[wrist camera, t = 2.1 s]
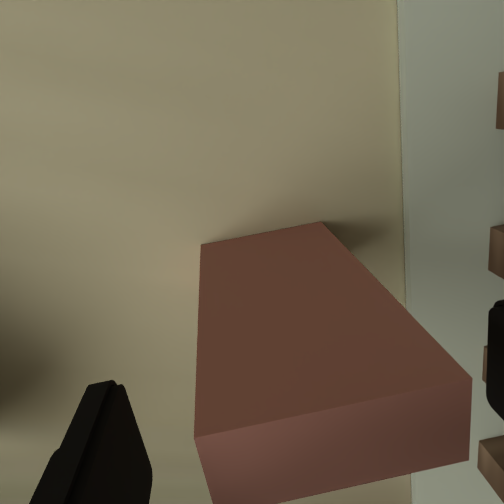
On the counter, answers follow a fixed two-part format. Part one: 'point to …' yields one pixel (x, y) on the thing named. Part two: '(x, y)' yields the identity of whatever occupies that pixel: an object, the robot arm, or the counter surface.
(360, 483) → the domino
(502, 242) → the domino
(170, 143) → the counter surface
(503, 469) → the domino
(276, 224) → the counter surface
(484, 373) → the domino
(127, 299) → the counter surface
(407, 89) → the mat
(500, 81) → the domino
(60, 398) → the counter surface
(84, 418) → the robot arm
